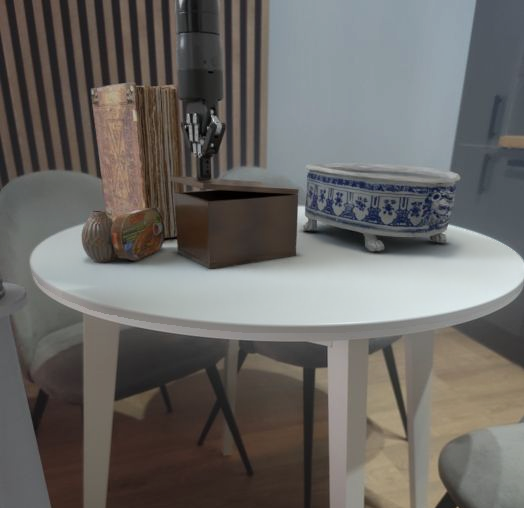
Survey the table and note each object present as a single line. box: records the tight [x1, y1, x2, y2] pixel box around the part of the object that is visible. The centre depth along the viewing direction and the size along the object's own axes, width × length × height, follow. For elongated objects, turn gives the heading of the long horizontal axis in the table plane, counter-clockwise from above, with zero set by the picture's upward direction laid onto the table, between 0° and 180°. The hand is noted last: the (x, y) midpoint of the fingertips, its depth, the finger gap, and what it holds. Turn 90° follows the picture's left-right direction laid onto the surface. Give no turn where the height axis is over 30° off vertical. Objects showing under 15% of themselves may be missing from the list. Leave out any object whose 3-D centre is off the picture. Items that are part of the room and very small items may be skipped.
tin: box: [111, 208, 165, 262], centre depth 94 cm, size 15×3×8 cm, turn 161°
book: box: [90, 81, 185, 239], centre depth 110 cm, size 25×9×30 cm, turn 35°
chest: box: [174, 189, 299, 270], centre depth 95 cm, size 19×14×11 cm
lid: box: [170, 176, 300, 195], centre depth 92 cm, size 20×14×1 cm
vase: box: [81, 209, 118, 263], centre depth 91 cm, size 7×7×9 cm
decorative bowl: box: [303, 162, 461, 252], centre depth 109 cm, size 42×27×15 cm, turn 31°
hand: (204, 179), depth 88 cm, fingers closed
